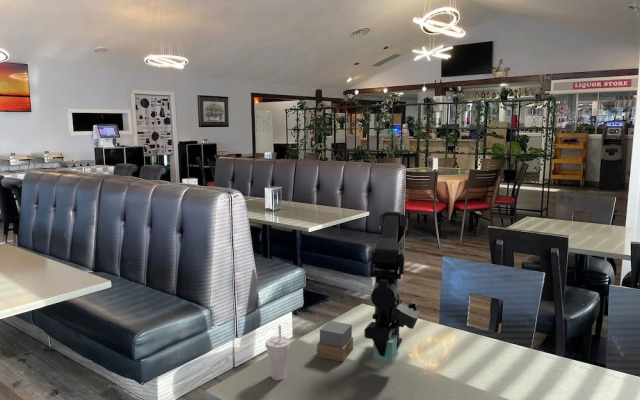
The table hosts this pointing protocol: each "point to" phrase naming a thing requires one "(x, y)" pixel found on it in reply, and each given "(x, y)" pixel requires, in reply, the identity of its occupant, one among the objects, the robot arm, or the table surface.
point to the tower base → (335, 351)
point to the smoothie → (278, 355)
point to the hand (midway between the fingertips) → (385, 351)
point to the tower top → (335, 334)
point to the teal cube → (387, 350)
